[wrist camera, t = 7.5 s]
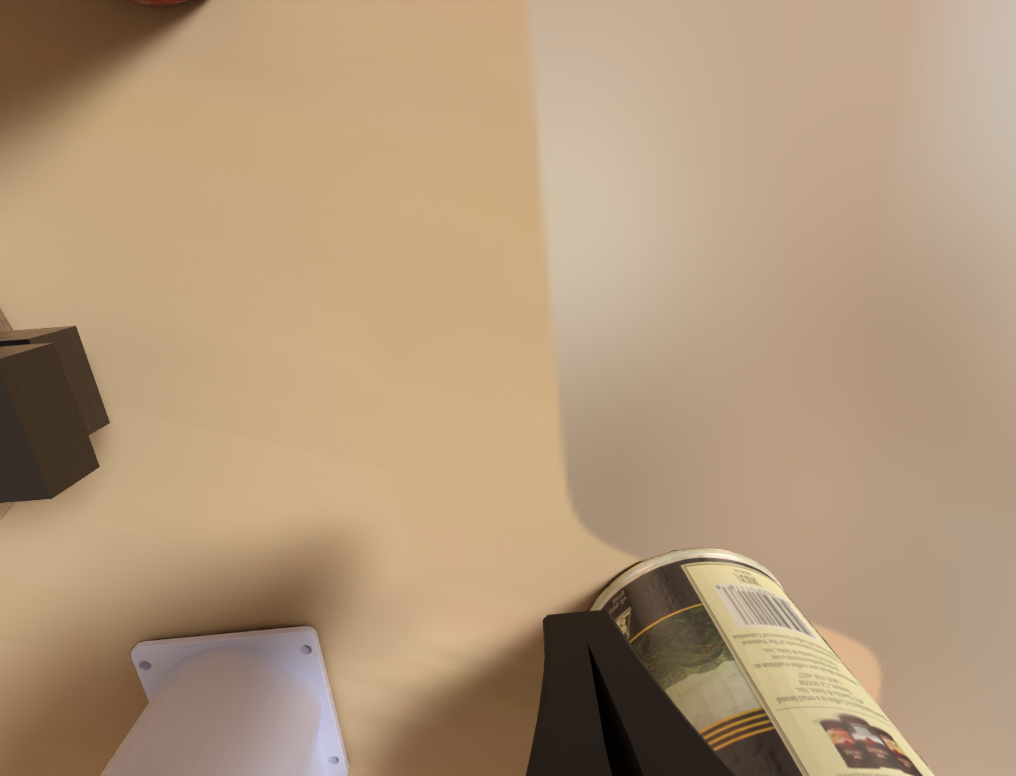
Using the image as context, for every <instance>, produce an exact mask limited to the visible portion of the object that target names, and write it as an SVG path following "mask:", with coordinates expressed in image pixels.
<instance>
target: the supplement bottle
mask: <svg viewBox="0 0 1016 776" xmlns="http://www.w3.org/2000/svg"><path fill="white" fill-rule="evenodd" d="M129 1H133V2H136V3H140V4H149V5H153V6H163V5H172V4H179V3H182V2H185V1H188V0H129Z"/></svg>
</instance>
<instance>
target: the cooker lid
mask: <svg viewBox="0 0 1016 776" xmlns="http://www.w3.org/2000/svg"><path fill="white" fill-rule="evenodd" d="M99 467H100V466H99V463H98V461H97V458H96V455H95V453H94V450H93V447H92V444H91V442H90V439H89V436H88V434H87V431H86V428H85V425H84V423H83V420H82V417H81V415H80V412H79V409H78V406H77V404H76V401H75V398H74V396H73V393H72V390H71V387H70V385H69V382H68V379H67V377H66V374H65V371H64V368H63V366H62V363H61V360H60V358H59V355H58V352H57V349H56V347H55V344H54V343H41V344H28V345H15V346H1V347H0V503H6V502H18V501H30V500H42V499H52V498H54V497H55V496H57V495H58V494H60V493H61V492H63V491H64V490H66V489H67V488H69V487H70V486H72V485H73V484H75V483H76V482H78V481H79V480H81V479H82V478H84V477H85V476H87V475H88V474H90V473H91V472H93V471H94V470H96V469H97V468H99Z"/></svg>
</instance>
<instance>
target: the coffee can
mask: <svg viewBox="0 0 1016 776" xmlns="http://www.w3.org/2000/svg"><path fill="white" fill-rule="evenodd" d="M595 610H607V611H608V612H610V613H611V615H612V616H613V618H614V620H615V621H616V623H617V625H618V626H619V628H620V629H621V631H622V632H623V634H624V635H625V637H626V639H627V640H628V641H629V643H630V644H631V646H632V647H633V649H634V650H635V652H636V653H637V654H638V656H639V657H640V659H641V660H642V662H643V663H644V664H645V666H646V667H647V668H648V670H649V671H650V672H651V674H652V675H653V677H654V678H655V679H656V680H657V682H658V683H659V684H660V686H661V687H662V688H663V689H664V691H665V692H666V693H667V695H668V696H669V697H670V698H671V700H672V701H673V702H674V704H675V705H676V706H677V707H678V708H679V710H680V711H681V712H682V713H683V715H684V716H685V717H686V718H687V719H688V721H689V722H690V723H691V724H692V725H693V726H694V728H695V729H696V730H697V731H698V732H699V733H700V735H701V736H702V737H703V738H704V739H705V740H706V742H707V743H708V744H709V745H710V746H711V747H712V748H713V750H714V751H715V752H716V753H717V754H718V755H719V756H720V757H721V758H722V760H723V761H724V762H725V763H726V764H727V765H728V766H729V767H730V768H731V769H732V770H733V771H734V772H735V774H736V775H737V776H936V775H935V774H934V773H933V772H932V770H931V769H930V768H929V767H928V765H927V764H926V763H925V761H924V760H923V759H922V758H921V757H920V756H919V754H918V753H917V752H916V751H915V750H914V749H913V747H912V746H911V745H910V744H909V742H908V741H907V740H906V739H905V738H904V737H903V735H902V734H901V733H900V732H899V731H898V729H897V728H896V727H895V726H894V725H893V724H892V723H891V721H890V720H889V719H888V718H887V717H886V716H885V714H884V713H883V711H882V710H881V709H880V707H879V706H878V705H877V703H876V702H875V701H874V700H873V698H872V697H871V696H870V695H869V694H868V692H867V691H866V690H865V689H864V687H863V686H862V685H861V684H860V682H859V681H858V680H857V679H856V678H855V676H854V675H853V674H852V673H851V672H850V671H849V669H848V668H847V667H846V666H845V665H844V664H843V662H842V661H841V660H840V659H839V657H838V656H837V655H836V654H835V652H834V651H833V650H832V648H831V647H830V646H829V645H828V643H827V642H826V641H825V640H824V638H823V637H822V636H821V635H820V634H819V633H818V631H817V630H816V629H815V628H814V627H813V625H812V624H811V623H810V622H809V621H808V619H807V618H806V617H805V616H804V615H803V613H802V612H801V611H800V610H799V609H798V608H797V606H796V605H795V604H794V603H793V601H792V600H791V599H790V598H789V596H788V595H787V594H786V593H785V592H784V590H783V588H782V586H781V585H780V583H779V582H778V580H777V579H776V578H775V577H774V576H773V575H772V574H771V573H770V572H769V571H768V570H767V569H766V568H765V567H763V566H762V565H760V564H759V563H758V562H757V561H755V560H752V559H750V558H748V557H746V556H743V555H740V554H738V553H735V552H731V551H727V550H722V549H715V548H691V549H684V550H675V551H671V552H668V553H666V554H663V555H659V556H656V557H653V558H650V559H648V560H646V561H643V562H641V563H639V564H637V565H636V566H634V567H632V568H630V569H629V570H627V571H626V572H624V573H623V574H622V575H620V576H619V577H618V578H616V579H615V580H614V581H613V582H612V583H611V584H610V585H609V586H607V587H606V588H605V589H604V590H603V591H602V593H601V594H600V595H599V596H598V598H597V599H596V601H595V602H594V604H593V605H592V607H591V609H590V611H595Z"/></svg>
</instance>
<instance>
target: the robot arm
mask: <svg viewBox="0 0 1016 776" xmlns="http://www.w3.org/2000/svg"><path fill="white" fill-rule="evenodd" d="M543 632H544V652H545V661H544V675H543V683H542V690H541V698H540V706H539V713H538V719H537V724H536V729H535V734H534V739H533V744H532V749H531V754H530V759H529V764H528V768H527V772H526V776H737V775H736V774H735V772H734V771H733V770H732V769H731V768H730V767H729V766H728V765H727V764H726V763H725V762H724V761H723V760H722V758H721V757H720V756H719V755H718V754H717V753H716V752H715V751H714V750H713V748H712V747H711V746H710V745H709V744H708V743H707V742H706V740H705V739H704V738H703V737H702V736H701V735H700V733H699V732H698V731H697V730H696V729H695V728H694V726H693V725H692V724H691V723H690V722H689V721H688V719H687V718H686V717H685V716H684V715H683V713H682V712H681V711H680V710H679V708H678V707H677V706H676V705H675V704H674V702H673V701H672V700H671V698H670V697H669V696H668V695H667V693H666V692H665V691H664V689H663V688H662V687H661V686H660V684H659V683H658V682H657V680H656V679H655V678H654V677H653V675H652V674H651V672H650V671H649V670H648V668H647V667H646V666H645V664H644V663H643V662H642V660H641V659H640V657H639V656H638V654H637V653H636V652H635V650H634V649H633V647H632V646H631V644H630V643H629V641H628V640H627V639H626V637H625V635H624V634H623V632H622V631H621V629H620V628H619V626H618V625H617V623H616V621H615V620H614V618H613V616H612V615H611V613H610V612H608V611H607V610H595V611H585V612H575V613H564V614H554V615H548V616H547V617H545V618H544V619H543ZM304 645H308V646H310V647H306V646H304ZM130 655H131V659H132V661H133V664H134V666H135V669H136V671H137V674H138V676H139V679H140V681H141V684H142V686H143V689H144V691H145V694H146V696H147V699H148V701H149V703H148V705H147V706H146V708H145V709H144V711H143V712H142V714H141V715H140V717H139V718H138V720H137V721H136V723H135V724H134V726H133V727H132V729H131V730H130V732H129V733H128V734H127V736H126V737H125V739H124V740H123V742H122V743H121V745H120V746H119V748H118V749H117V751H116V752H115V754H114V755H113V757H112V758H111V760H110V761H109V763H108V764H107V766H106V767H105V769H104V770H103V772H102V773H101V775H100V776H347V775H348V770H349V764H348V760H347V756H346V751H345V747H344V743H343V739H342V735H341V731H340V726H339V722H338V718H337V714H336V710H335V705H334V701H333V697H332V693H331V689H330V685H329V680H328V676H327V672H326V668H325V664H324V659H323V655H322V651H321V647H320V643H319V639H318V634H317V632H316V630H314V629H313V628H312V627H309V626H300V627H289V628H279V629H268V630H258V631H247V632H237V633H226V634H216V635H205V636H195V637H184V638H174V639H163V640H153V641H143V642H139V643H138V644H136V646H135V647H134V648H133V649H132V651H131V653H130Z"/></svg>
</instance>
